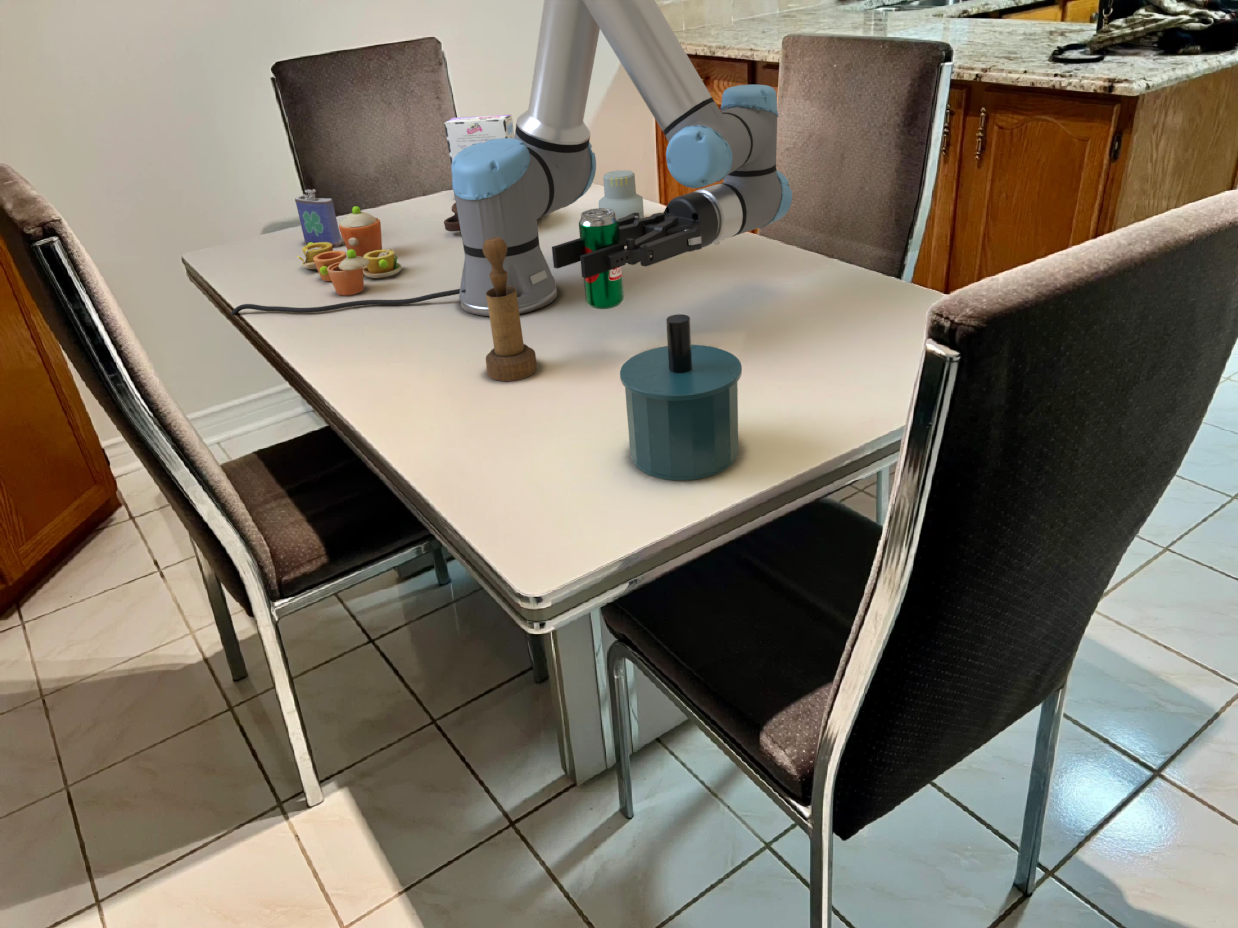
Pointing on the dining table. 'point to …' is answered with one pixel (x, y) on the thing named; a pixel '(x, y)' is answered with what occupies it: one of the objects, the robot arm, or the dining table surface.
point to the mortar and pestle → (505, 322)
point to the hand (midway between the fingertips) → (568, 262)
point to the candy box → (476, 131)
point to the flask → (318, 219)
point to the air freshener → (621, 194)
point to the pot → (683, 435)
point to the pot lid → (680, 367)
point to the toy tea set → (353, 255)
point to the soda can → (594, 235)
